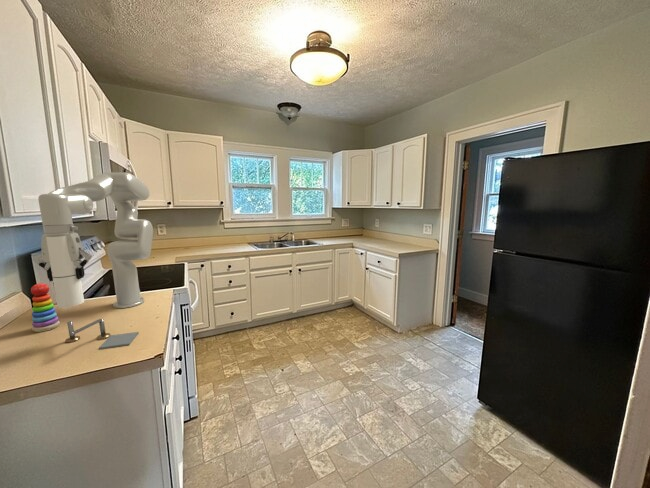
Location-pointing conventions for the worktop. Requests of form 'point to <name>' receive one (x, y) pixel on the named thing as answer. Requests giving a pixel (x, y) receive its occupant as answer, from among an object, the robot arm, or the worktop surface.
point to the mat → (119, 340)
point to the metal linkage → (72, 332)
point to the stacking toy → (43, 309)
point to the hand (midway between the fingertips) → (67, 278)
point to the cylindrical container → (64, 273)
